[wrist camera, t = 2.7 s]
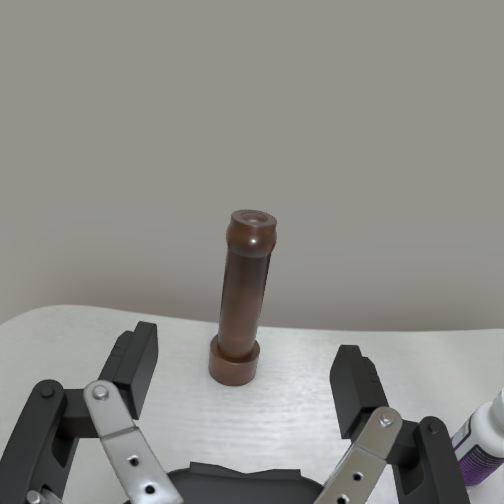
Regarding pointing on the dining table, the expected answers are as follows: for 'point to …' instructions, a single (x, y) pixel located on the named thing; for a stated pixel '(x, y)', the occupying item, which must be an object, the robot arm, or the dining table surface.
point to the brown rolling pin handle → (242, 296)
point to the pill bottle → (481, 442)
